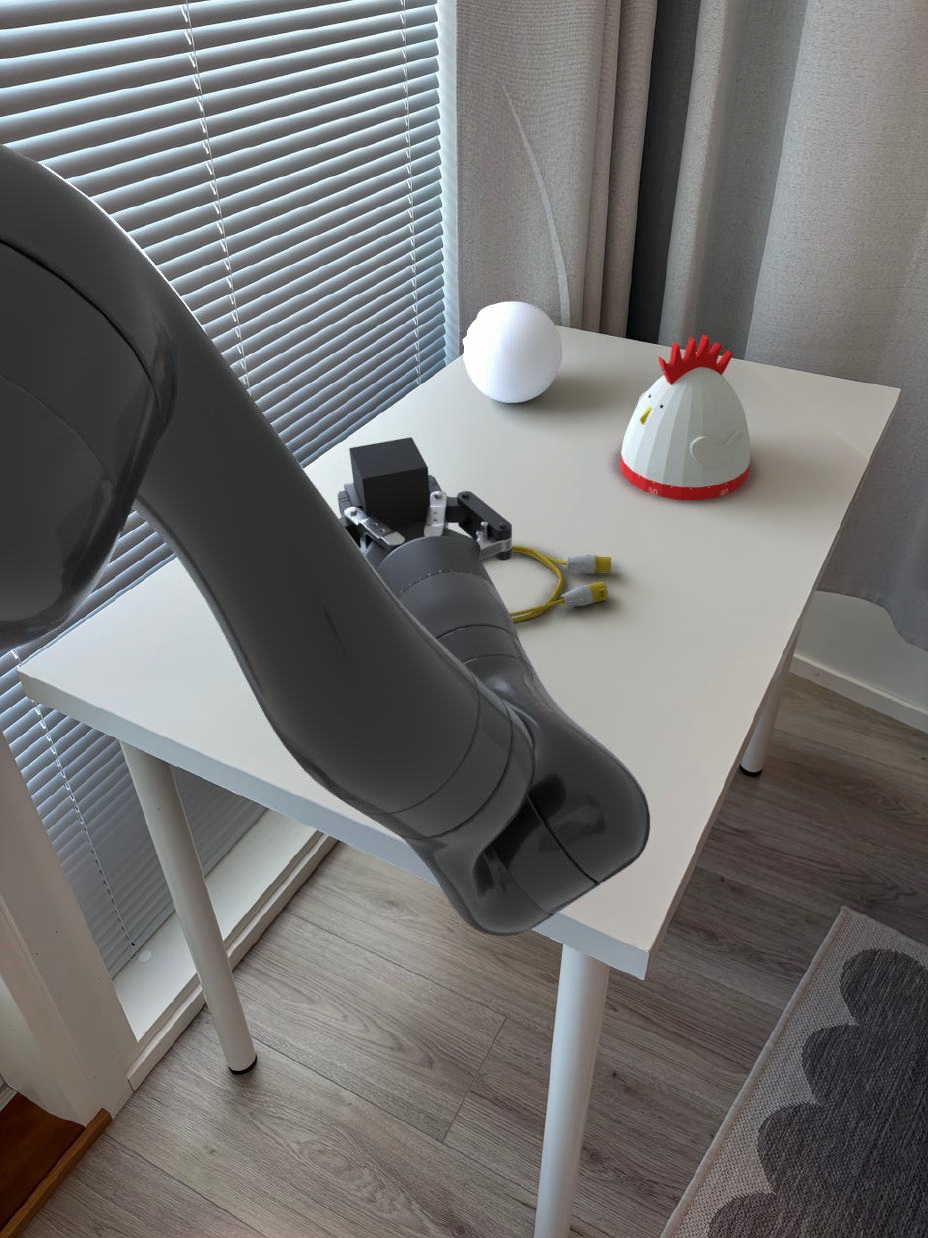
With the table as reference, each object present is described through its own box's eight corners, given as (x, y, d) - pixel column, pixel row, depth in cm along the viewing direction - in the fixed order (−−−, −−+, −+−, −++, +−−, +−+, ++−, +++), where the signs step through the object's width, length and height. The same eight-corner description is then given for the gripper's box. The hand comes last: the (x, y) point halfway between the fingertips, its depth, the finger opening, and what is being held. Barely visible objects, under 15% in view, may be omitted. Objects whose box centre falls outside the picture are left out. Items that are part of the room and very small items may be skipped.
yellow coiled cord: (580, 650, 82) (581, 633, 81) (420, 606, 88) (418, 589, 87) (625, 573, 90) (627, 556, 89) (476, 537, 96) (475, 520, 95)
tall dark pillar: (376, 597, 70) (361, 479, 64) (363, 562, 73) (348, 447, 67) (436, 584, 71) (428, 467, 65) (421, 551, 74) (411, 436, 68)
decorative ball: (475, 374, 126) (472, 284, 118) (566, 379, 123) (568, 288, 116) (457, 417, 117) (452, 322, 109) (554, 422, 114) (556, 326, 107)
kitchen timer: (599, 451, 109) (606, 323, 99) (705, 427, 112) (722, 302, 102) (658, 512, 98) (672, 377, 89) (773, 484, 102) (798, 351, 92)
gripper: (557, 552, 57) (474, 425, 69) (321, 601, 54) (279, 459, 67) (555, 647, 61) (477, 512, 74) (337, 696, 59) (295, 547, 71)
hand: (384, 487), depth 70 cm, fingers closed on tall dark pillar, 4 cm apart
